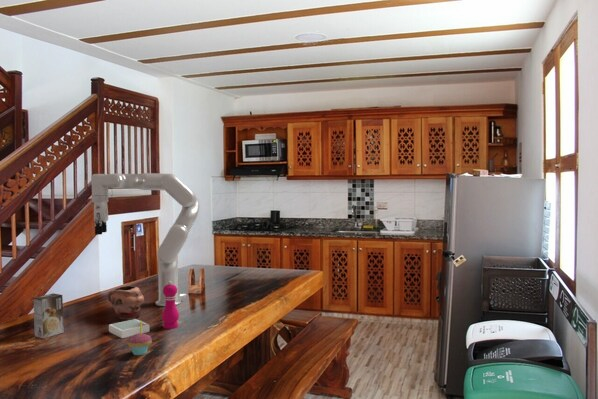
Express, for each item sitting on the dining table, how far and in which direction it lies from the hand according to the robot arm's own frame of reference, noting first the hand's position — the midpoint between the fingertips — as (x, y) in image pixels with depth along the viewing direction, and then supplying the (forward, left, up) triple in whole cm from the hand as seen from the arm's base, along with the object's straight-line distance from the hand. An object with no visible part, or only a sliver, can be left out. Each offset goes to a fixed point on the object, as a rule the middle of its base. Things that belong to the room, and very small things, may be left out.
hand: (100, 233), depth 248 cm
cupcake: (+18, +74, -37) cm, 85 cm away
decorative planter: (0, +25, -37) cm, 45 cm away
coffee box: (+34, +27, -37) cm, 57 cm away
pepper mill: (-7, +53, -37) cm, 65 cm away
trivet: (+9, +47, -37) cm, 61 cm away
